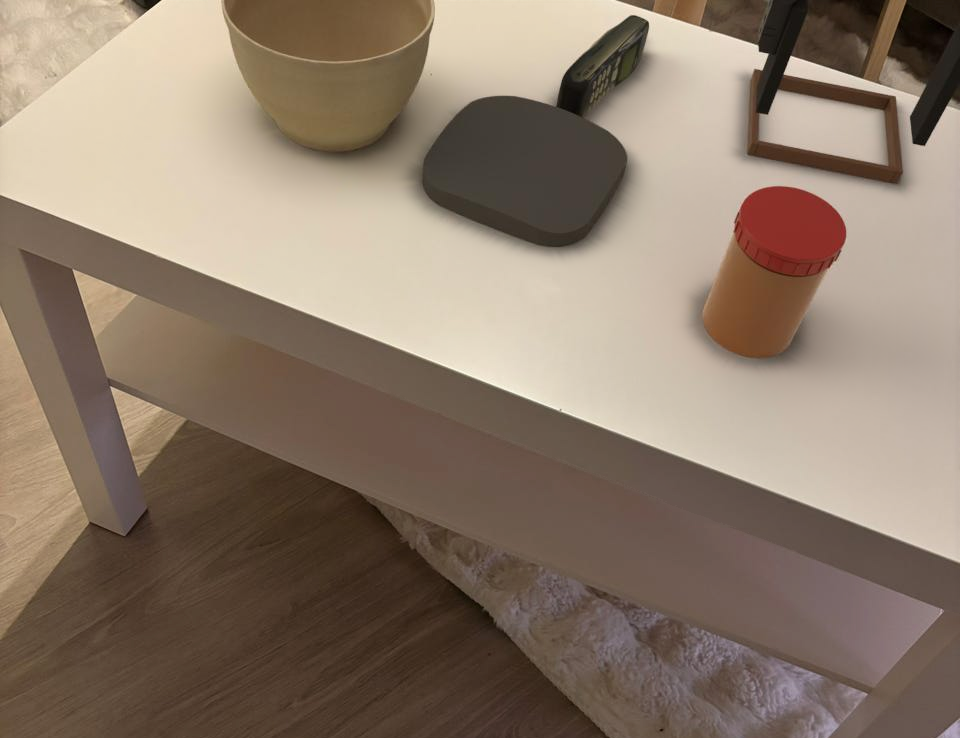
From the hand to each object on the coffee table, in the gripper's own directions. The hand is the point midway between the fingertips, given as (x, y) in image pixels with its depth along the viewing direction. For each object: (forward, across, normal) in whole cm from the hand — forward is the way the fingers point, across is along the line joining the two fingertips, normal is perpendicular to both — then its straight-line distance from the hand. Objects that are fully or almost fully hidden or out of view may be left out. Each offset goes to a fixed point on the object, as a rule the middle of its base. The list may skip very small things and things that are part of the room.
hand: (839, 115), depth 62 cm
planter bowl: (+19, +36, -15) cm, 43 cm away
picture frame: (+19, -6, -26) cm, 33 cm away
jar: (+19, 0, 0) cm, 19 cm away
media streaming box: (+19, +19, -12) cm, 29 cm away
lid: (+9, 0, 0) cm, 9 cm away
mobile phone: (+19, +14, -27) cm, 36 cm away
